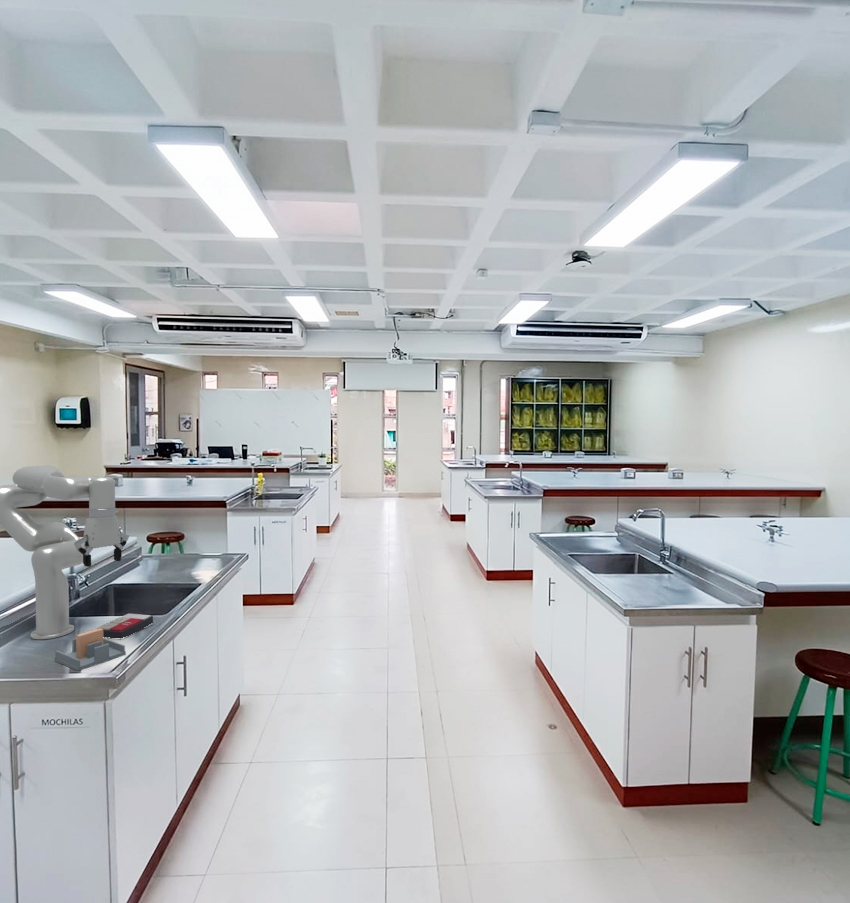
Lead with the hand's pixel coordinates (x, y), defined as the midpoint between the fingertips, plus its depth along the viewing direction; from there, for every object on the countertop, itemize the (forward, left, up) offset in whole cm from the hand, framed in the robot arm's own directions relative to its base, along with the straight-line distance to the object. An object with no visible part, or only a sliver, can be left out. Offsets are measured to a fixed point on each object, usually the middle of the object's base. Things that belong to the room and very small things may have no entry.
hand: (102, 563), depth 177 cm
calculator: (-3, +9, -27) cm, 28 cm away
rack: (+12, -10, -26) cm, 31 cm away
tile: (+12, -10, -25) cm, 30 cm away
